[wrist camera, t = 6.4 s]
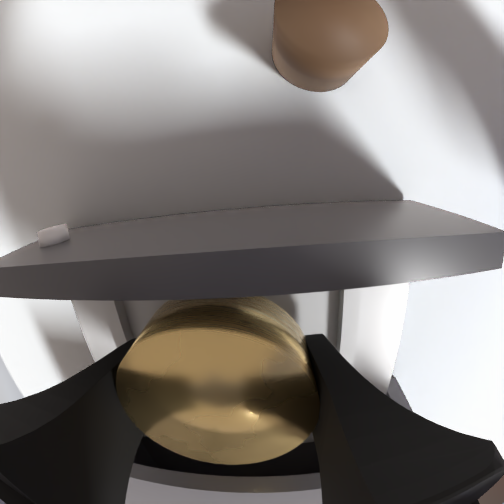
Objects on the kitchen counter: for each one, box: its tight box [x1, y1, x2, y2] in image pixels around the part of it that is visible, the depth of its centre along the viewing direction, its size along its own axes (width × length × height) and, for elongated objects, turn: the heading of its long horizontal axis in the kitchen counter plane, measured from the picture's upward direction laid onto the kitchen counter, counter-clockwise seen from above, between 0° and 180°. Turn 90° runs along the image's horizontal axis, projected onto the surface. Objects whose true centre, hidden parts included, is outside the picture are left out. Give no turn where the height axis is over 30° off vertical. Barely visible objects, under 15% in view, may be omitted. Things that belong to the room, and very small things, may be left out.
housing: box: [125, 377, 413, 504], centre depth 12 cm, size 16×12×6 cm
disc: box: [116, 296, 320, 465], centre depth 8 cm, size 6×6×2 cm
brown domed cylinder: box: [272, 0, 388, 92], centre depth 7 cm, size 3×3×4 cm
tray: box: [0, 200, 504, 443], centre depth 9 cm, size 15×12×5 cm
